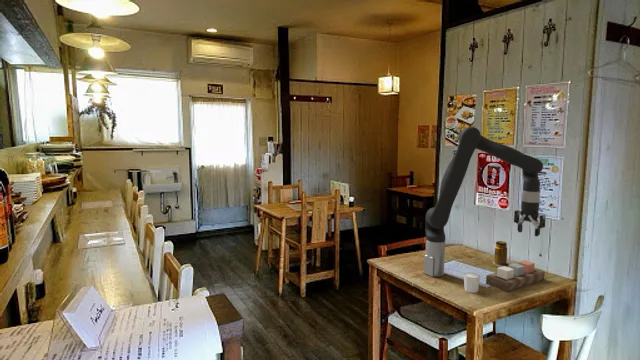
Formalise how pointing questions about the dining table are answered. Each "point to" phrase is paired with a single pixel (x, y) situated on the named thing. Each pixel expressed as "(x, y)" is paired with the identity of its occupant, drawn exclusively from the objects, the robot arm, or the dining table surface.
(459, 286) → the dining table surface
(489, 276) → the brown wooden tray
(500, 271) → the cream block
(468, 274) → the white cup
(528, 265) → the terracotta key
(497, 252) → the condiment
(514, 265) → the slate key
